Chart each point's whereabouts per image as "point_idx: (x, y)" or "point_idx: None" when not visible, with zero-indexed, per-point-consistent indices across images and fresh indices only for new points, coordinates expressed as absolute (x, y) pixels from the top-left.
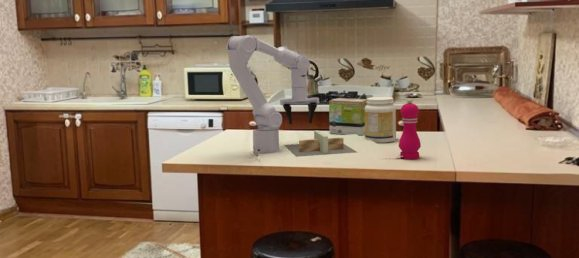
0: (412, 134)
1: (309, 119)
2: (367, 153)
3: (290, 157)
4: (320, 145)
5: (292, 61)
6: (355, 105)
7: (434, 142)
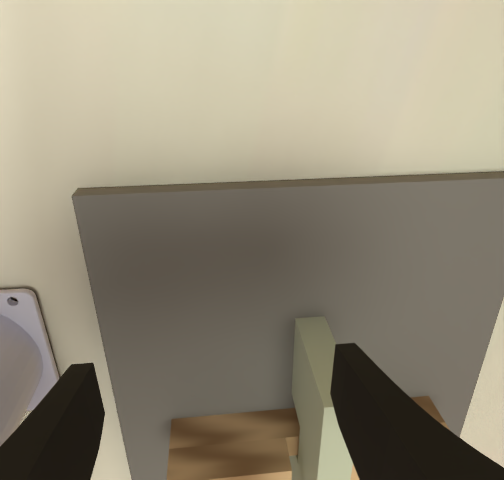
0: None
1: (344, 407)
2: (495, 446)
3: (115, 462)
4: (295, 467)
5: None
6: None
7: None
